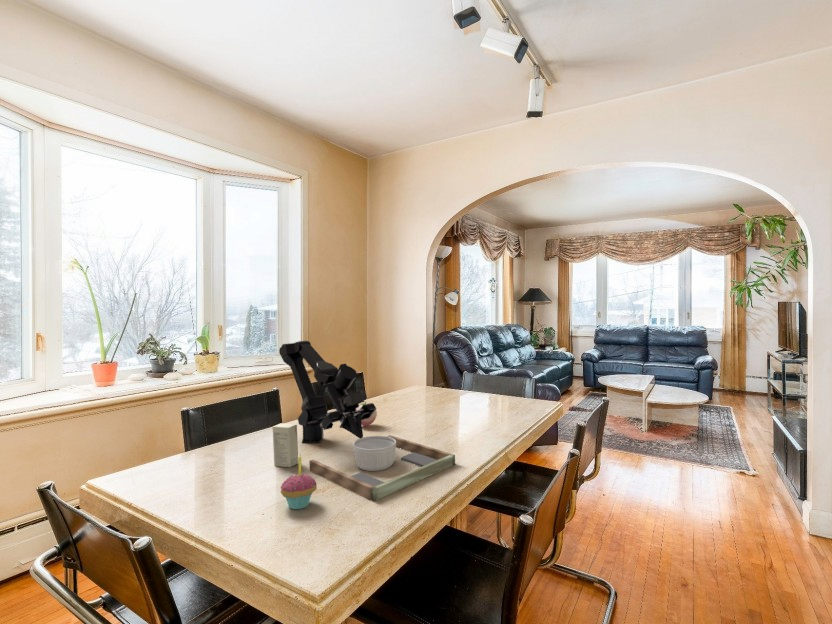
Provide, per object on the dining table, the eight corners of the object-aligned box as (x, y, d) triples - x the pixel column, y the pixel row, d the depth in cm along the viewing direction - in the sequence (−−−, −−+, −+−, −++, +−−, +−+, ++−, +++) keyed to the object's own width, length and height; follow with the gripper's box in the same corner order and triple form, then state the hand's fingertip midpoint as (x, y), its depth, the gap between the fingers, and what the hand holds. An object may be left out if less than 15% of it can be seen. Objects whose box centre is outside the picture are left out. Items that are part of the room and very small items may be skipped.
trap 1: (344, 481, 117) (344, 478, 117) (361, 475, 122) (361, 472, 122) (367, 492, 110) (367, 489, 110) (384, 485, 115) (384, 482, 115)
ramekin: (345, 469, 126) (344, 446, 126) (365, 454, 138) (365, 433, 138) (385, 475, 121) (385, 451, 121) (403, 459, 133) (402, 437, 133)
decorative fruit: (381, 427, 169) (380, 402, 168) (362, 431, 164) (362, 405, 164) (369, 422, 176) (369, 398, 176) (352, 425, 172) (351, 401, 172)
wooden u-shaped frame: (309, 470, 126) (309, 460, 125) (390, 443, 149) (389, 435, 149) (373, 501, 105) (373, 489, 105) (455, 464, 129) (455, 454, 129)
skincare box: (299, 462, 132) (298, 423, 132) (290, 468, 128) (289, 427, 127) (281, 460, 134) (280, 422, 134) (272, 465, 130) (272, 426, 130)
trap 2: (400, 459, 133) (400, 457, 133) (414, 454, 138) (414, 452, 138) (424, 468, 126) (424, 465, 126) (437, 462, 131) (437, 459, 131)
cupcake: (285, 497, 108) (284, 451, 108) (319, 496, 109) (318, 449, 108) (277, 514, 99) (276, 463, 99) (314, 512, 100) (313, 462, 100)
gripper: (325, 387, 131) (348, 429, 123) (372, 379, 144) (395, 416, 137) (312, 408, 136) (333, 450, 129) (358, 399, 150) (379, 436, 142)
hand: (361, 437), depth 134 cm, fingers closed, pressing on ramekin
